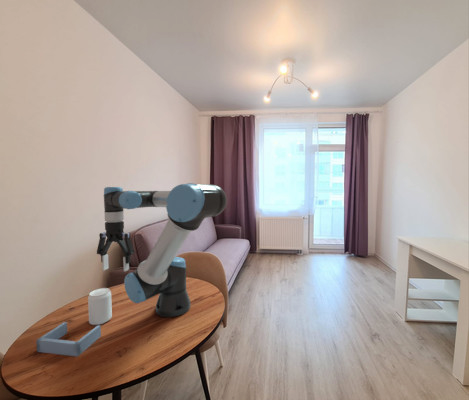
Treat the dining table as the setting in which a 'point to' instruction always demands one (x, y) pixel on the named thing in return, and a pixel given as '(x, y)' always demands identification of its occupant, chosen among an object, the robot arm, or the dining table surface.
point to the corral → (64, 347)
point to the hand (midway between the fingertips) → (116, 269)
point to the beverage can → (99, 306)
